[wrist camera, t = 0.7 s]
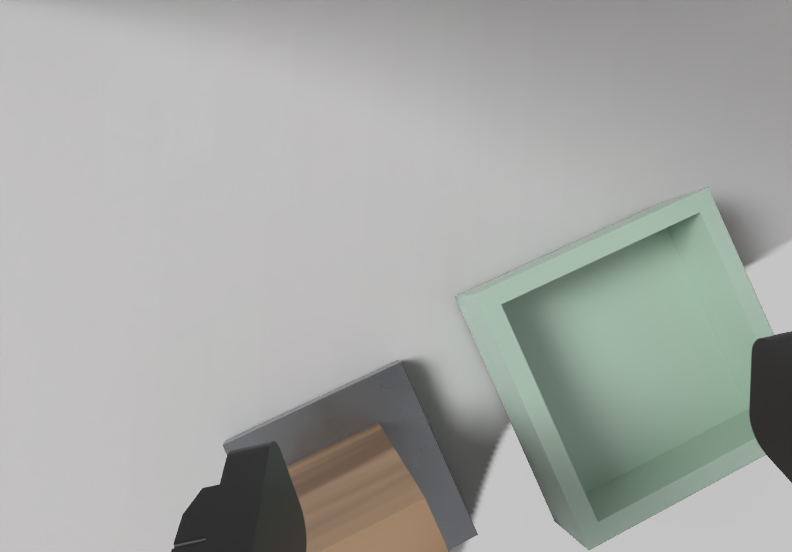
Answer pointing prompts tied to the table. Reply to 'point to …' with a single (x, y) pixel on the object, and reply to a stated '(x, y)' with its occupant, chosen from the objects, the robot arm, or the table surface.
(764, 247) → the table surface
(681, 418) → the tray
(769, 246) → the table surface
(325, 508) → the block
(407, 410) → the mount plate
